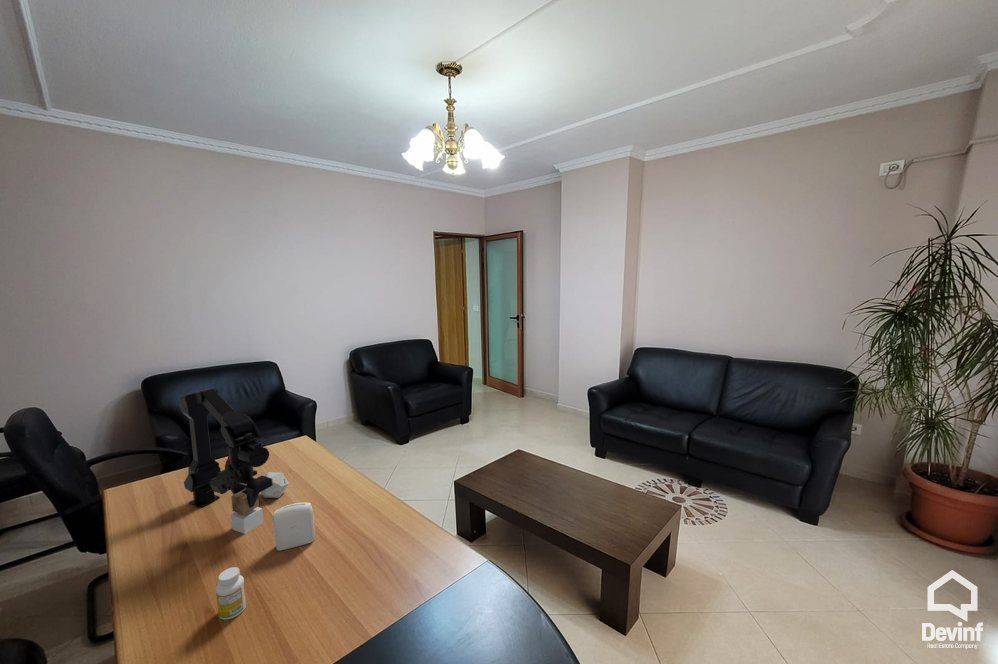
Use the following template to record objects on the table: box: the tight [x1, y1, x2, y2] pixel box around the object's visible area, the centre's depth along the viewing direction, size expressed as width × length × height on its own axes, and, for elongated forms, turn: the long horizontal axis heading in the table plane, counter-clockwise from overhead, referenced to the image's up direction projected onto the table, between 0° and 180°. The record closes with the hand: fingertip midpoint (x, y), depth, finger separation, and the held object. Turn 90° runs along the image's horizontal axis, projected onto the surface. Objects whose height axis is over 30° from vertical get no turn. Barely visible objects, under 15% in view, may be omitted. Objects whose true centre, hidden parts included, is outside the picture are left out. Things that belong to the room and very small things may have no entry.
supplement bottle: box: [215, 566, 247, 620], centre depth 89 cm, size 5×5×10 cm
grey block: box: [230, 506, 265, 535], centre depth 119 cm, size 6×6×5 cm
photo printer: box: [273, 502, 316, 552], centre depth 111 cm, size 10×4×12 cm, turn 114°
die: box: [260, 471, 290, 499], centre depth 136 cm, size 8×9×10 cm
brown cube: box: [230, 489, 260, 515], centre depth 118 cm, size 5×5×5 cm
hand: (245, 505), depth 119 cm, fingers closed on brown cube, 5 cm apart
